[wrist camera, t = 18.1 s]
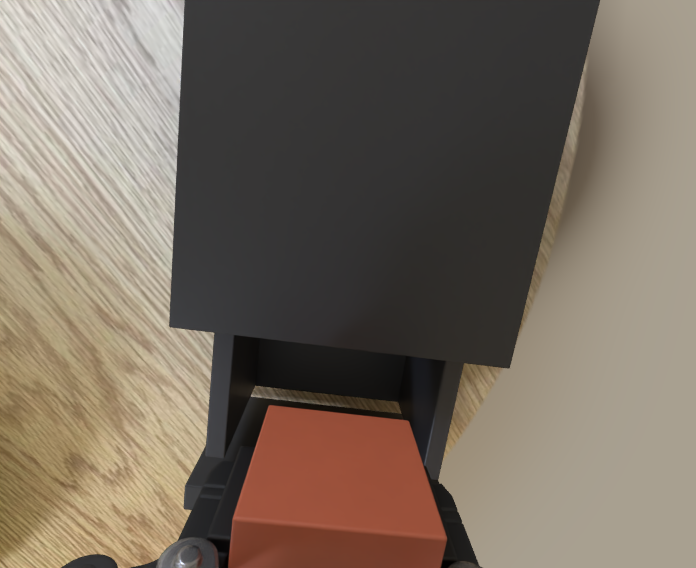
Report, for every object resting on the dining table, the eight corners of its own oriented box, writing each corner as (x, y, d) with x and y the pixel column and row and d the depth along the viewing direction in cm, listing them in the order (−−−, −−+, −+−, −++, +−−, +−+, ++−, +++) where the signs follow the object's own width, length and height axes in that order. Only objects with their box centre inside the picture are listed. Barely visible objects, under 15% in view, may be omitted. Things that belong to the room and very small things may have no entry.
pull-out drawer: (396, 506, 26) (422, 633, 19) (224, 489, 26) (176, 614, 18) (453, 218, 22) (514, 230, 15) (249, 189, 21) (202, 185, 14)
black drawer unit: (442, 302, 24) (510, 369, 15) (235, 275, 23) (168, 327, 14) (494, 40, 21) (621, -84, 12) (258, -1, 20) (191, -169, 11)
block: (409, 419, 13) (448, 538, 8) (386, 536, 14) (411, 699, 9) (268, 403, 13) (231, 517, 8) (255, 524, 14) (216, 685, 9)
